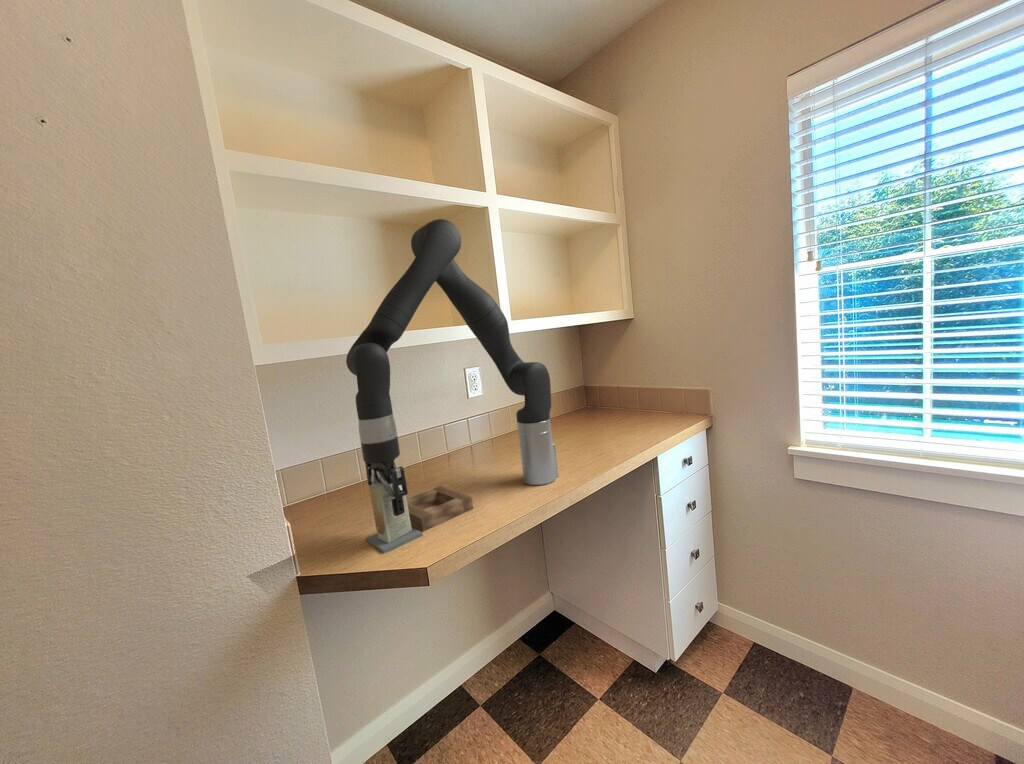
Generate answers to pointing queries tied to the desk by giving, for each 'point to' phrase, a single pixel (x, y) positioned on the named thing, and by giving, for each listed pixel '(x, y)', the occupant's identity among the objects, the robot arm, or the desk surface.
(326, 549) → the desk surface
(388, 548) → the mat
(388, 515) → the skincare box
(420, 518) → the collar
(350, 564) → the desk surface
